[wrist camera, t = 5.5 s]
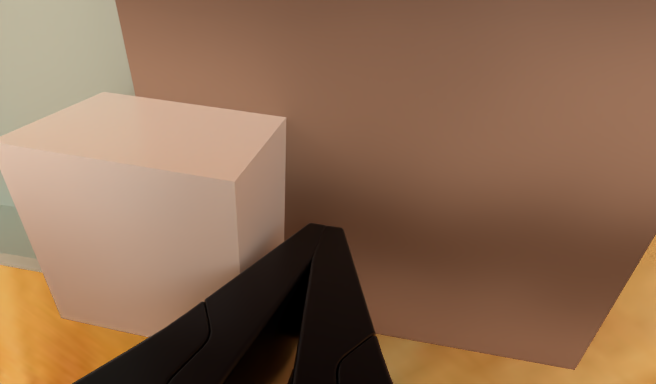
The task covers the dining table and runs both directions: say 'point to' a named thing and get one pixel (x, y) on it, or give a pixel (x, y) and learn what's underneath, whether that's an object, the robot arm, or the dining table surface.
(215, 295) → the robot arm
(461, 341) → the plate
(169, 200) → the pale pink cube
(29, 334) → the dining table surface
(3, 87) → the tray
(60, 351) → the dining table surface
